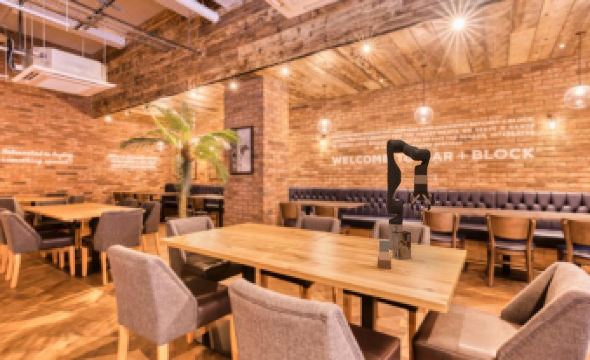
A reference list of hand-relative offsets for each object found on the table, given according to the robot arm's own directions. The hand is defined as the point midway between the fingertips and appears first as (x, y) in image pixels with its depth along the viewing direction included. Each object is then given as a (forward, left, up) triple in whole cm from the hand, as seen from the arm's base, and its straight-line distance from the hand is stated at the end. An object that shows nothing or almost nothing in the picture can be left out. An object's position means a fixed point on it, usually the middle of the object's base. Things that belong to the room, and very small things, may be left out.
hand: (420, 210), depth 173 cm
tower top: (+16, -21, -26) cm, 37 cm away
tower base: (+16, -21, -30) cm, 40 cm away
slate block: (+16, -21, -21) cm, 34 cm away
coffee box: (-5, -10, -30) cm, 32 cm away
